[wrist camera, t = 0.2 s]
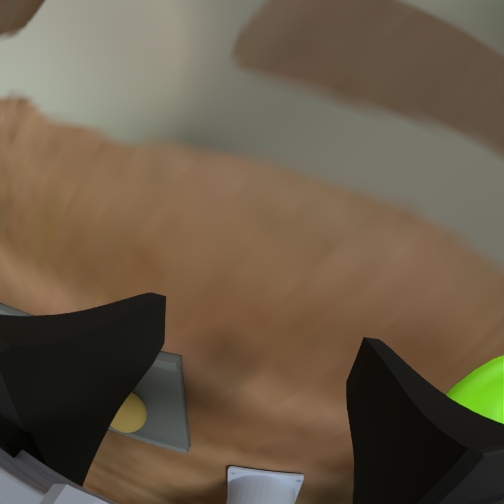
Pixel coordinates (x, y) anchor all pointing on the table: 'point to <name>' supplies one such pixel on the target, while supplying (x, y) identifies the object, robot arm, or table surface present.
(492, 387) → the wineglass
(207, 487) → the table surface
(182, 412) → the lane mat
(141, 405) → the ball
